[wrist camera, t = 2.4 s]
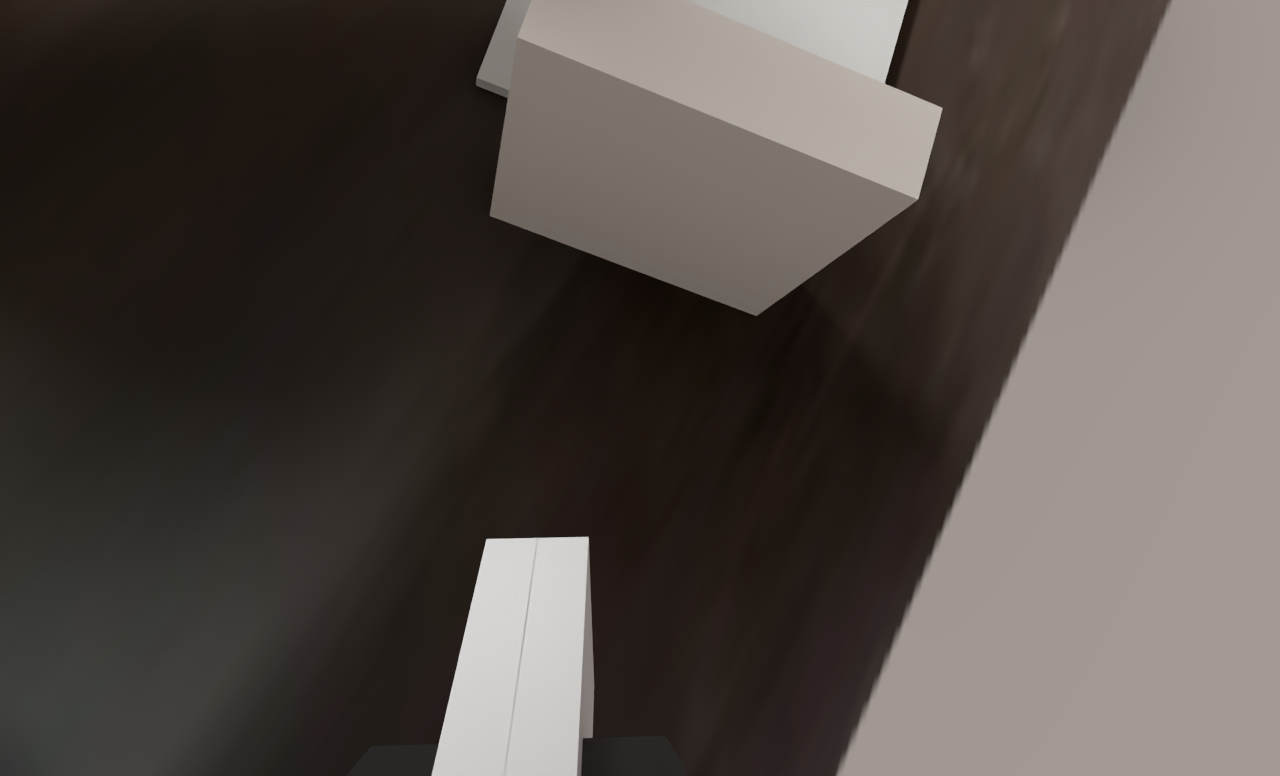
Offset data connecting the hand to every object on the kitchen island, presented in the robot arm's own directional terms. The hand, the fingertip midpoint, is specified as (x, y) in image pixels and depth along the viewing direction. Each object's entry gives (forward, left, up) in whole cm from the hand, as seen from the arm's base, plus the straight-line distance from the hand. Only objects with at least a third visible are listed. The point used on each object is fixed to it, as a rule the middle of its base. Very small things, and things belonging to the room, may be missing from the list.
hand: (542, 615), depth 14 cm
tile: (-8, +10, -17) cm, 21 cm away
